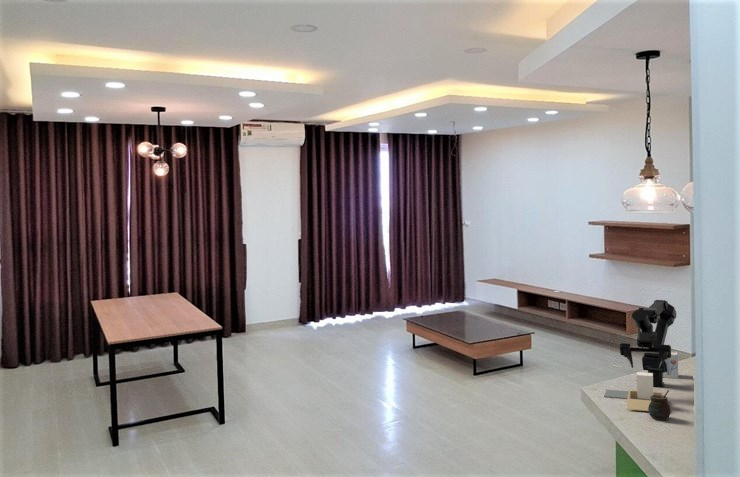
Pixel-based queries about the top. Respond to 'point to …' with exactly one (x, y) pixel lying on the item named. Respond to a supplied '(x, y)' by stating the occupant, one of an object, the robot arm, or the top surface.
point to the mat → (616, 394)
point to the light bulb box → (672, 366)
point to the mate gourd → (659, 407)
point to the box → (644, 385)
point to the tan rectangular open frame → (638, 401)
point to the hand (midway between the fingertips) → (645, 368)
